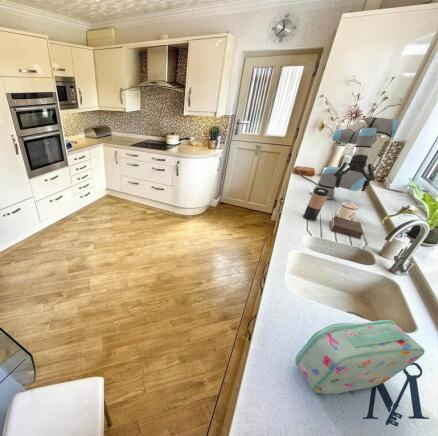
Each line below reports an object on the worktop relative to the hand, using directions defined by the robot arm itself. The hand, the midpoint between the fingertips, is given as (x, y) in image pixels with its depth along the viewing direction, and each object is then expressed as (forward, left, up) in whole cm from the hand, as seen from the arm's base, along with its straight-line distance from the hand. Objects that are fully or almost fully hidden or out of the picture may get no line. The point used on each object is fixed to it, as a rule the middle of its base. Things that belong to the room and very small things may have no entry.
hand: (349, 189), depth 148 cm
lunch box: (+123, -4, -20) cm, 125 cm away
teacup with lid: (-3, +5, -20) cm, 21 cm away
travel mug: (+14, -15, -20) cm, 29 cm away
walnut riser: (+18, +4, -20) cm, 27 cm away
